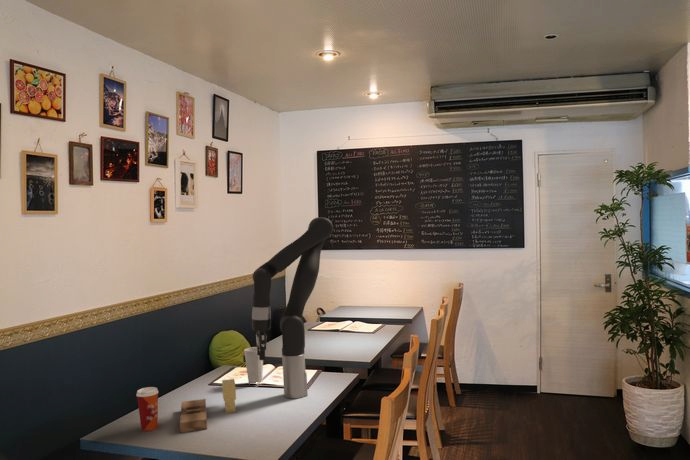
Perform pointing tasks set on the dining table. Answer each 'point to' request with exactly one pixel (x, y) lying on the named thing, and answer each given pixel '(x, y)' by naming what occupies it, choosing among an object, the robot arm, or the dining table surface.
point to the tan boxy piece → (229, 395)
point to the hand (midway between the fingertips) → (261, 357)
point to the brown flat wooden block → (193, 415)
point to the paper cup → (148, 408)
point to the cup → (253, 365)
